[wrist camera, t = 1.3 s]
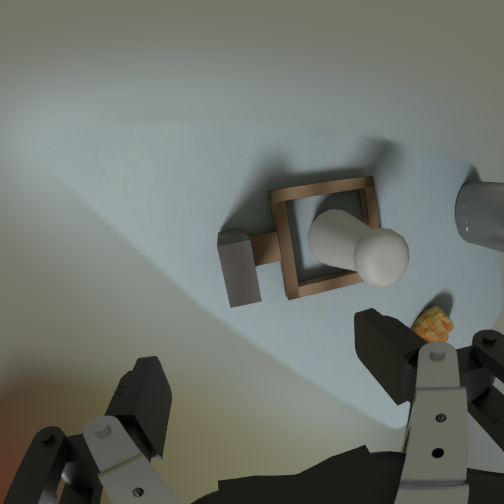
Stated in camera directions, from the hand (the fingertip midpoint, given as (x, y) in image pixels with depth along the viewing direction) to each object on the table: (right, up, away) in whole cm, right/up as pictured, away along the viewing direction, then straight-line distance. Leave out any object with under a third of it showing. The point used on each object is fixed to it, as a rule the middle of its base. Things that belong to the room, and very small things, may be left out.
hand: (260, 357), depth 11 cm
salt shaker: (+8, +6, +20) cm, 23 cm away
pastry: (+25, -8, +25) cm, 36 cm away
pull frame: (+5, +5, +20) cm, 21 cm away
